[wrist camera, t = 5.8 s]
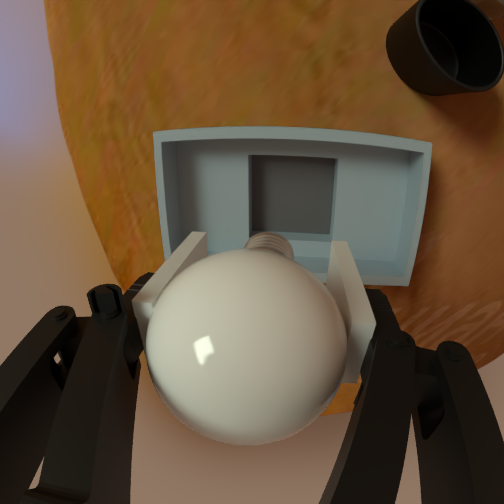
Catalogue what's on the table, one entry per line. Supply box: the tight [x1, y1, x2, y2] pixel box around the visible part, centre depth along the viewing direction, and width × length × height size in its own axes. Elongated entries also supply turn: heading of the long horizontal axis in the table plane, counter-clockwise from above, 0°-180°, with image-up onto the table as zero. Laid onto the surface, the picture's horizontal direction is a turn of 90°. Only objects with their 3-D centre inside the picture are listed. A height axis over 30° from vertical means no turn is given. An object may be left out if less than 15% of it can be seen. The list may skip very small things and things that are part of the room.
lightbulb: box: [146, 232, 348, 446], centre depth 11 cm, size 6×6×11 cm
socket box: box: [153, 126, 432, 286], centre depth 28 cm, size 14×24×6 cm, turn 90°
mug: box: [386, 0, 504, 96], centre depth 18 cm, size 9×12×9 cm
